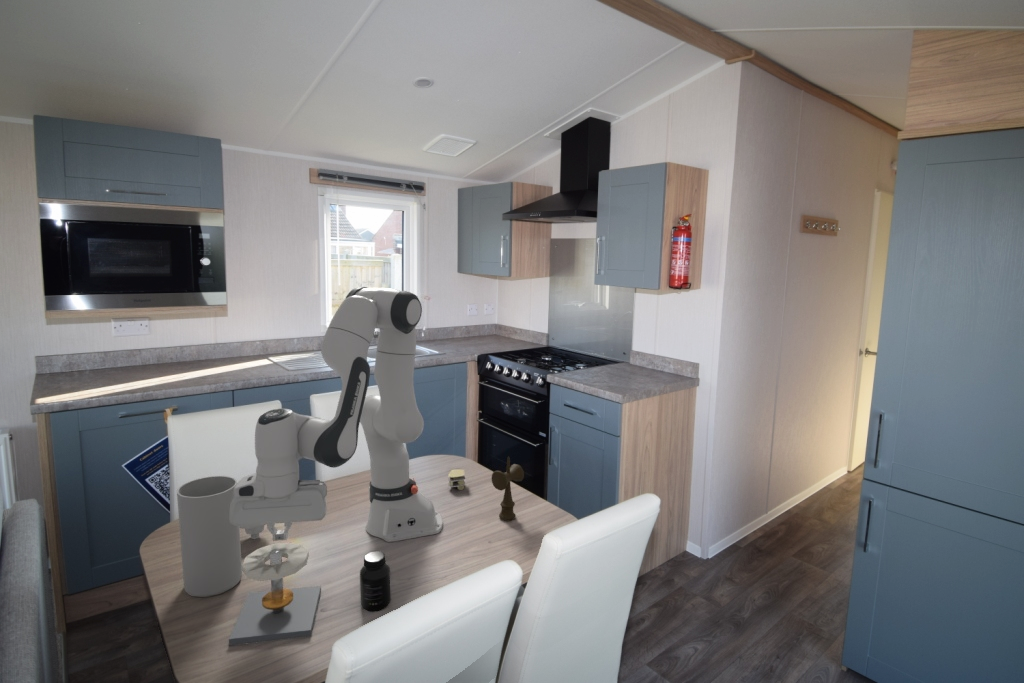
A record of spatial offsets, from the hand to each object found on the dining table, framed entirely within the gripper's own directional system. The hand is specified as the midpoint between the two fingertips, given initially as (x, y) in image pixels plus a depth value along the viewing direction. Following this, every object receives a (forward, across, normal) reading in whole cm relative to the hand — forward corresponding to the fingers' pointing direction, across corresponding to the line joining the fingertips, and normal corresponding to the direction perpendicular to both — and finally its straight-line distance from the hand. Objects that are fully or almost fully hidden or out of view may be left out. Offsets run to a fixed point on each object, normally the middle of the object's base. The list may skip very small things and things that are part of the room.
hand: (280, 539), depth 125 cm
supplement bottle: (+16, -21, +4) cm, 27 cm away
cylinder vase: (+16, +18, -11) cm, 26 cm away
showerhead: (+16, +14, -33) cm, 39 cm away
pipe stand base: (+15, 0, +5) cm, 16 cm away
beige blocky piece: (+16, -46, -58) cm, 76 cm away
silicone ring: (+3, 0, +5) cm, 6 cm away
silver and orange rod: (+14, 0, +5) cm, 15 cm away
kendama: (+15, -60, -32) cm, 70 cm away
